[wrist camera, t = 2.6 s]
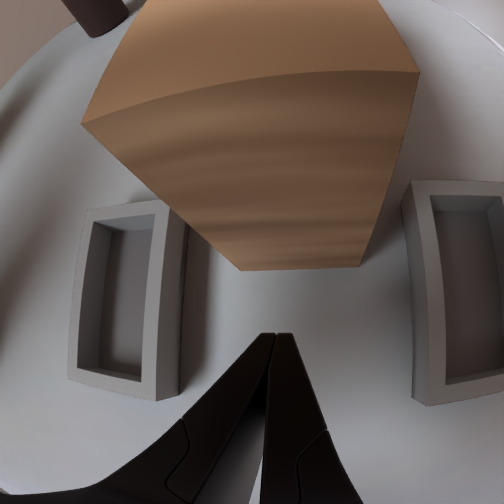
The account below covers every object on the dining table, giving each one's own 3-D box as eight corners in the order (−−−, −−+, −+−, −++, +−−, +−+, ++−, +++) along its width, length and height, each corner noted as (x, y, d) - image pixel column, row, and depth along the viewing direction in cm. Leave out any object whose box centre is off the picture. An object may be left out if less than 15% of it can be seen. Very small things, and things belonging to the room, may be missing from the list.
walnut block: (358, 267, 15) (419, 72, 4) (240, 271, 16) (80, 124, 5) (331, 74, 19) (311, -78, 8) (249, 81, 20) (194, -59, 9)
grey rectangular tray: (179, 395, 15) (155, 401, 12) (95, 378, 16) (67, 379, 14) (190, 216, 18) (171, 197, 15) (110, 224, 19) (86, 210, 17)
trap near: (507, 379, 11) (532, 382, 8) (411, 397, 12) (426, 406, 10) (489, 202, 14) (507, 182, 11) (400, 202, 15) (410, 179, 13)
